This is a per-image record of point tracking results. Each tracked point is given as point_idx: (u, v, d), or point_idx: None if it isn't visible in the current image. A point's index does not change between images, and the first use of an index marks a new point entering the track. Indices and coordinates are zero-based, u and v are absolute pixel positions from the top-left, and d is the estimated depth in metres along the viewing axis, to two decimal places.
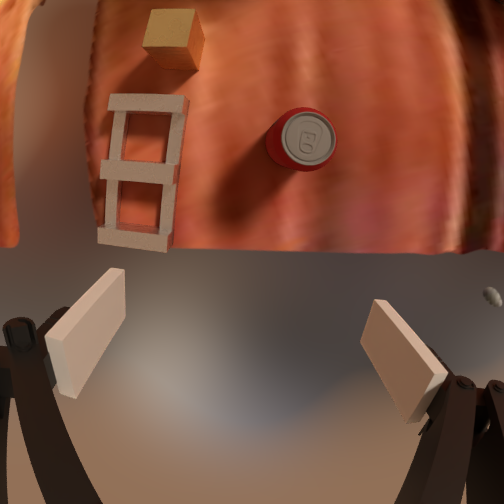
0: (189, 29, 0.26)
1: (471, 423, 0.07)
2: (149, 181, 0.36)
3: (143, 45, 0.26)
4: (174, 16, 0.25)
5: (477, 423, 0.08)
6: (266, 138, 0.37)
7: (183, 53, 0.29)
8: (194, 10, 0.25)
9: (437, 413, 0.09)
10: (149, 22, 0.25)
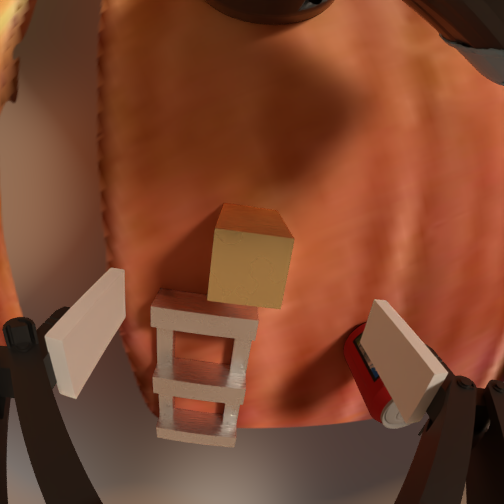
0: (284, 279, 0.20)
1: (471, 423, 0.07)
2: (216, 401, 0.31)
3: (209, 299, 0.21)
4: (258, 251, 0.20)
5: (476, 424, 0.08)
6: (348, 353, 0.31)
7: None
8: (292, 241, 0.20)
9: (437, 413, 0.09)
10: (214, 257, 0.20)
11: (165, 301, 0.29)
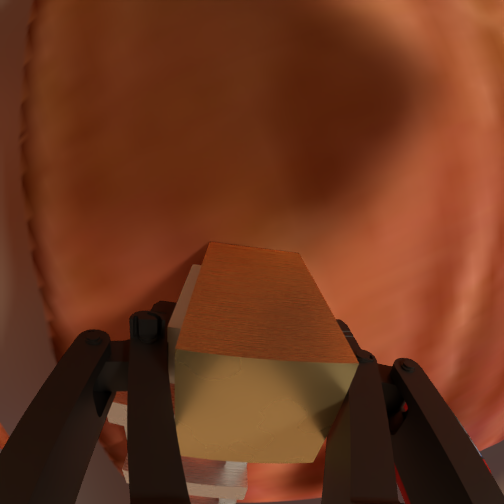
0: (327, 427, 0.09)
1: (380, 399, 0.08)
2: (208, 496, 0.19)
3: (180, 453, 0.09)
4: (278, 390, 0.08)
5: None
6: None
7: None
8: (353, 367, 0.08)
9: None
10: (180, 399, 0.08)
11: None
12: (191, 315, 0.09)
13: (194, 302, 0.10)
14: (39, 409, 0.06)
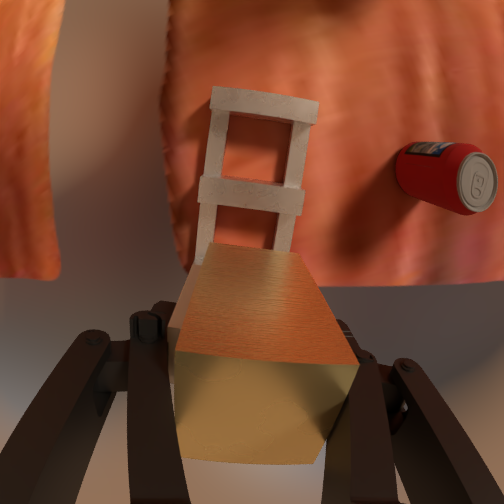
0: (327, 428, 0.09)
1: (380, 399, 0.08)
2: (271, 209, 0.29)
3: None
4: (278, 391, 0.08)
5: None
6: (403, 165, 0.30)
7: None
8: (354, 369, 0.08)
9: None
10: (180, 400, 0.08)
11: None
12: (191, 316, 0.09)
13: (194, 303, 0.10)
14: (39, 409, 0.06)
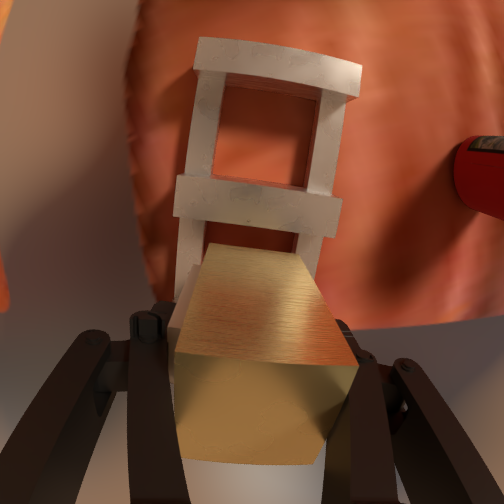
0: (327, 429, 0.09)
1: (380, 399, 0.08)
2: (289, 228, 0.19)
3: None
4: (277, 392, 0.08)
5: None
6: (467, 165, 0.19)
7: None
8: (354, 370, 0.08)
9: None
10: (180, 401, 0.08)
11: None
12: (191, 317, 0.09)
13: (194, 304, 0.10)
14: (39, 409, 0.06)
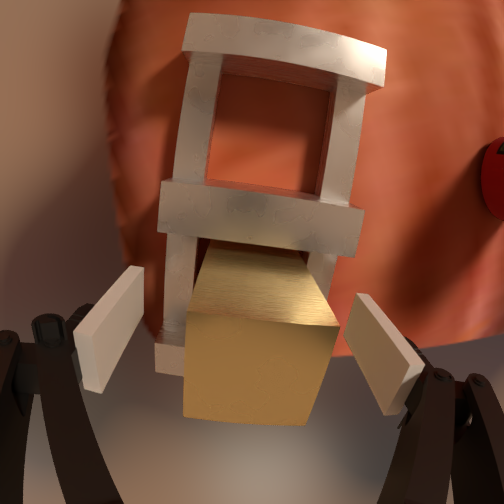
0: (316, 388, 0.11)
1: (451, 416, 0.07)
2: (300, 247, 0.15)
3: (186, 415, 0.11)
4: (272, 349, 0.10)
5: (456, 417, 0.09)
6: (497, 170, 0.15)
7: None
8: (336, 330, 0.10)
9: (415, 406, 0.10)
10: (189, 358, 0.10)
11: None
12: (199, 288, 0.11)
13: (201, 278, 0.12)
14: None
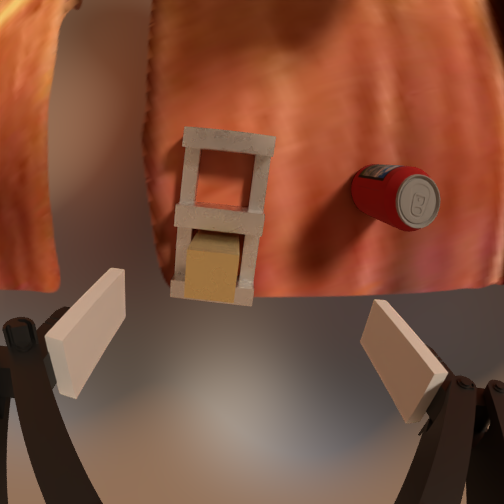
0: (234, 282, 0.30)
1: (471, 423, 0.07)
2: (235, 231, 0.35)
3: (185, 296, 0.30)
4: (216, 263, 0.30)
5: (477, 423, 0.08)
6: (356, 187, 0.35)
7: None
8: (238, 257, 0.30)
9: (437, 413, 0.09)
10: (187, 268, 0.30)
11: None
12: (191, 244, 0.31)
13: (192, 242, 0.32)
14: None
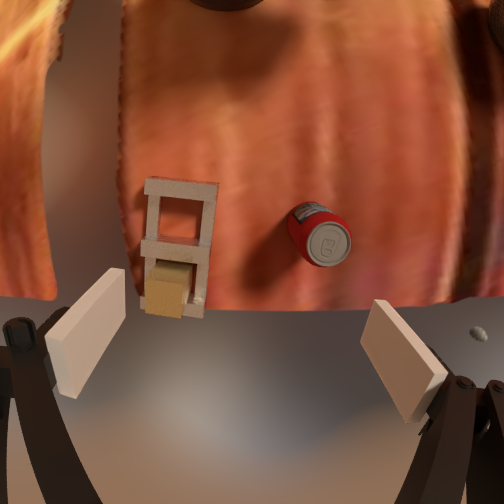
0: (181, 303, 0.39)
1: (471, 423, 0.07)
2: (187, 261, 0.44)
3: (146, 312, 0.39)
4: (166, 289, 0.38)
5: (477, 423, 0.08)
6: (289, 223, 0.44)
7: None
8: (182, 285, 0.38)
9: (437, 413, 0.09)
10: (146, 292, 0.38)
11: (155, 178, 0.41)
12: (150, 273, 0.40)
13: (151, 271, 0.40)
14: None
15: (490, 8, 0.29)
